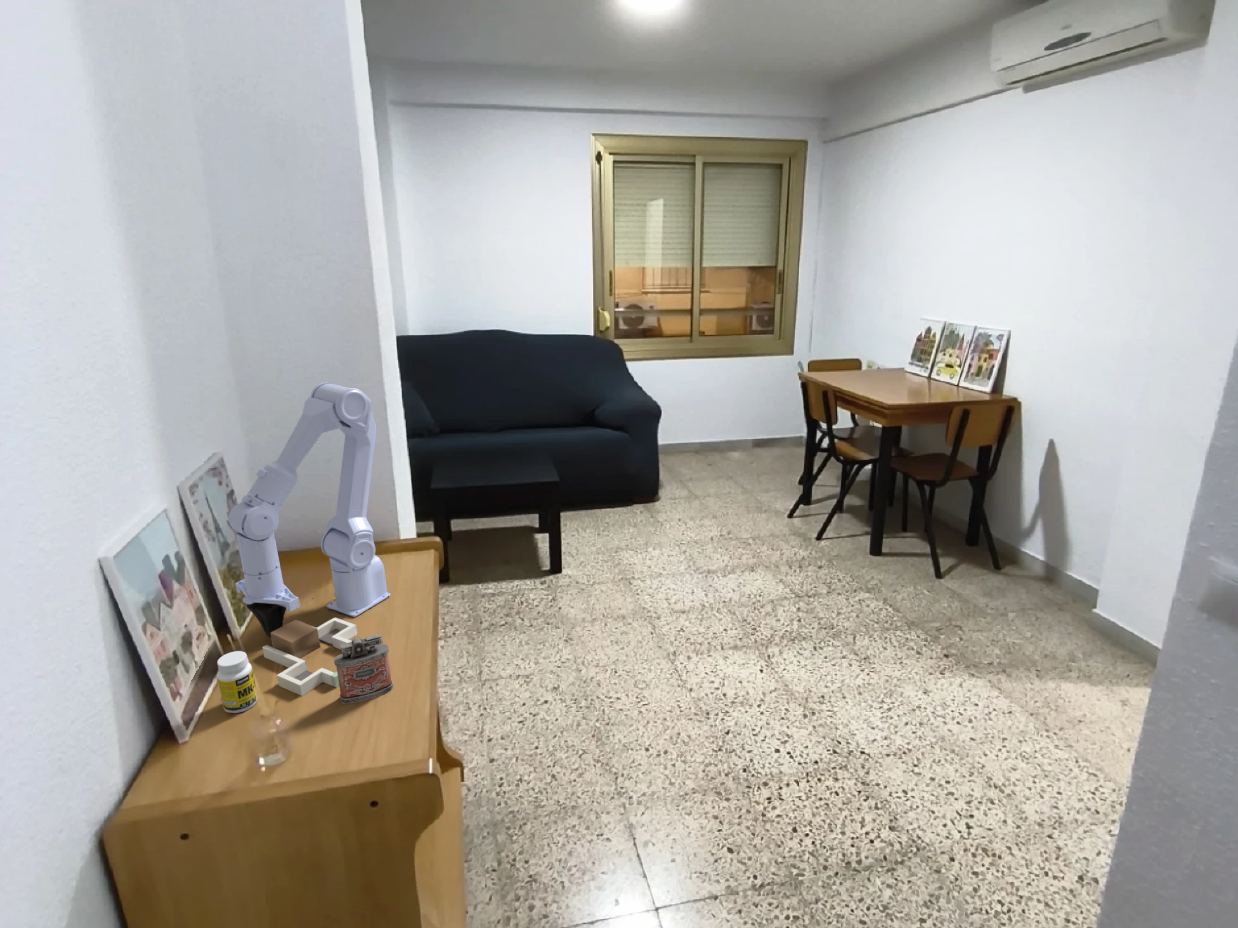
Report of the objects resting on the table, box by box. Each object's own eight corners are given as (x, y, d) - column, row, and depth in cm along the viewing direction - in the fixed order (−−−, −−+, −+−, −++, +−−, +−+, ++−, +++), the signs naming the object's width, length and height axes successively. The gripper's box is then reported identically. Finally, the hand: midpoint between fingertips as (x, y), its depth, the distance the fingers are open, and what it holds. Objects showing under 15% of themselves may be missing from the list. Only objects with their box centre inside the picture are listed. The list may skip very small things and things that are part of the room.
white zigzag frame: (324, 622, 127) (322, 613, 127) (394, 647, 119) (392, 637, 119) (242, 669, 113) (240, 659, 113) (315, 701, 105) (313, 691, 105)
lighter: (341, 706, 104) (332, 652, 101) (339, 694, 107) (330, 640, 104) (394, 691, 108) (388, 638, 105) (391, 679, 111) (384, 627, 108)
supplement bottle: (243, 715, 102) (233, 669, 100) (217, 711, 103) (206, 665, 101) (265, 695, 107) (256, 651, 104) (239, 692, 108) (229, 647, 105)
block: (299, 638, 123) (295, 619, 121) (320, 647, 120) (317, 628, 118) (274, 652, 118) (270, 632, 117) (295, 662, 116) (291, 642, 114)
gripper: (213, 568, 117) (228, 635, 121) (268, 587, 110) (281, 657, 115) (251, 552, 123) (264, 616, 127) (304, 569, 116) (316, 636, 121)
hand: (274, 634), depth 121 cm, fingers closed
